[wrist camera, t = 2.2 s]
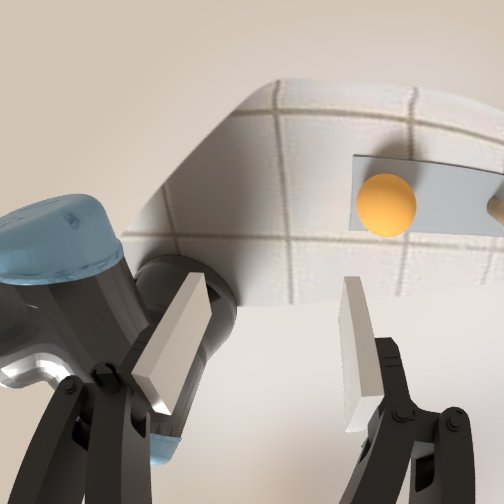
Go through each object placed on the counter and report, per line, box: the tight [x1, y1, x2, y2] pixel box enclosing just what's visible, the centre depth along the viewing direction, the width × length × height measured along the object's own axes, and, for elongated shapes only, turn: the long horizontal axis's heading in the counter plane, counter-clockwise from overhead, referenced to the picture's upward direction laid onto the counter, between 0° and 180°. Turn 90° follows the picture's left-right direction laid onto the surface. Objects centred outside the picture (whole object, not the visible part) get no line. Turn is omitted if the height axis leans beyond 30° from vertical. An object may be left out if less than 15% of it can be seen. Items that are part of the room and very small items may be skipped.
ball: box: [356, 174, 417, 237], centre depth 24 cm, size 6×6×6 cm
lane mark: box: [349, 156, 504, 237], centre depth 25 cm, size 28×8×1 cm, turn 94°
